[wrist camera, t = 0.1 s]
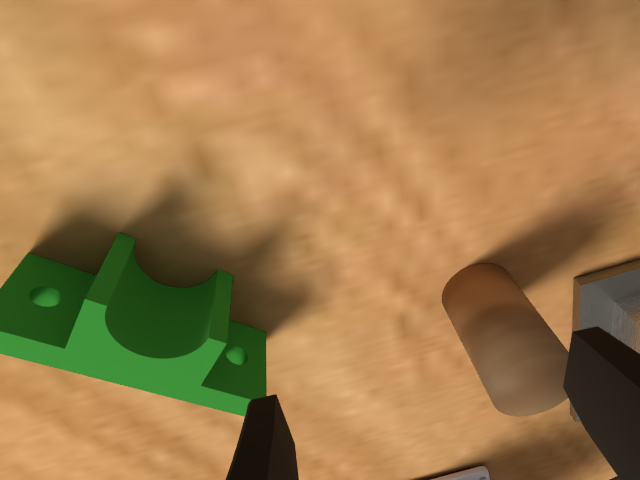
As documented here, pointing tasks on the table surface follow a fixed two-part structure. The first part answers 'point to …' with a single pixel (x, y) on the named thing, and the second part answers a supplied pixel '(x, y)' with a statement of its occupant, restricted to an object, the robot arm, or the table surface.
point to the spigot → (506, 340)
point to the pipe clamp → (134, 330)
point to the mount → (609, 304)
